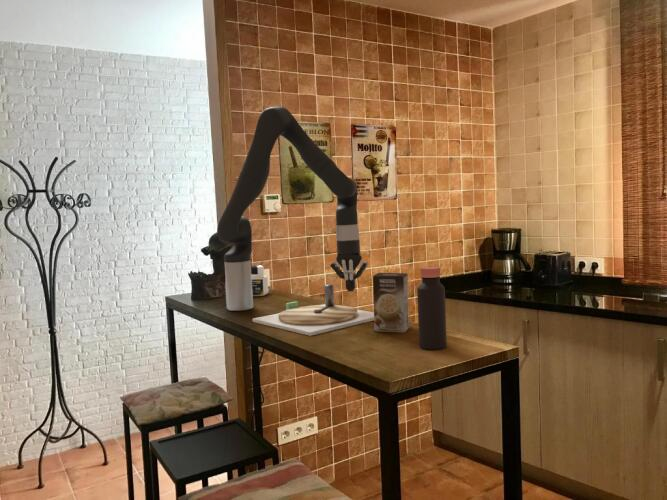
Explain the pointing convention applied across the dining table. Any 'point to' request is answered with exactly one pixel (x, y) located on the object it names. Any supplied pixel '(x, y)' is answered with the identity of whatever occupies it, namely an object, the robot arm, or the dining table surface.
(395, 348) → the dining table surface
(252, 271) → the medicine bottle
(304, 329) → the gauge plate
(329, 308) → the tan round piece
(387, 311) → the coffee box
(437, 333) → the dark grey water bottle
